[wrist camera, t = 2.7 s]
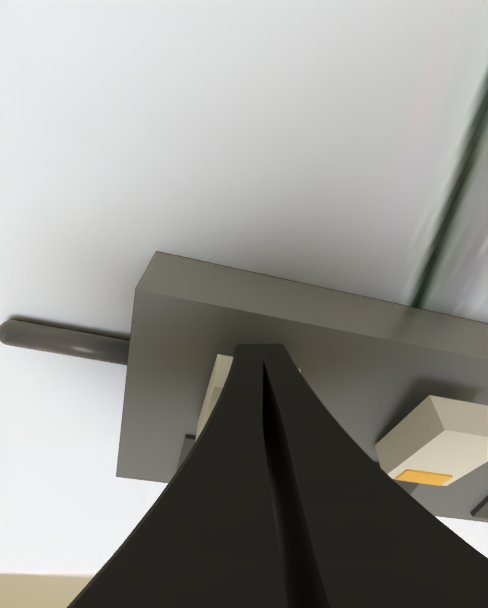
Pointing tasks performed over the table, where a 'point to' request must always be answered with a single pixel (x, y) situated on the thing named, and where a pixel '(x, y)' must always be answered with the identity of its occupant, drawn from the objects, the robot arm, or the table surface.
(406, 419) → the rocker
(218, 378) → the rocker
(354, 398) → the power strip
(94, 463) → the table surface
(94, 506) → the table surface
